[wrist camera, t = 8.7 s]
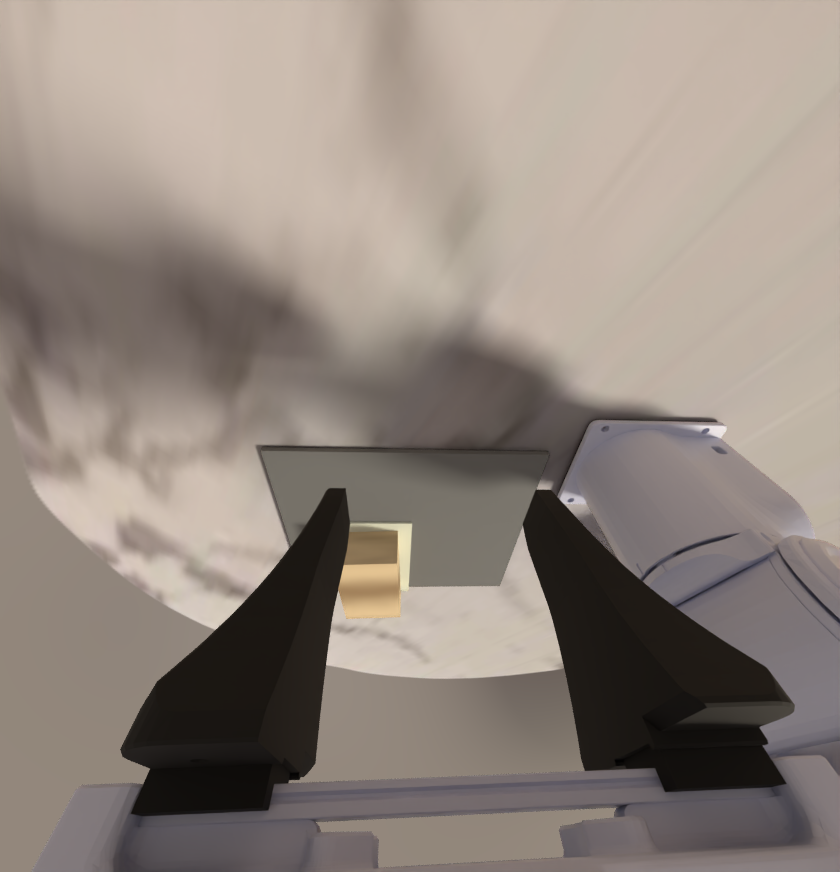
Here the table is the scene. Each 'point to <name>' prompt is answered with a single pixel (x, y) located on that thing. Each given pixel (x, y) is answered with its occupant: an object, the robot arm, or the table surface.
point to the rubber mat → (418, 503)
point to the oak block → (371, 575)
